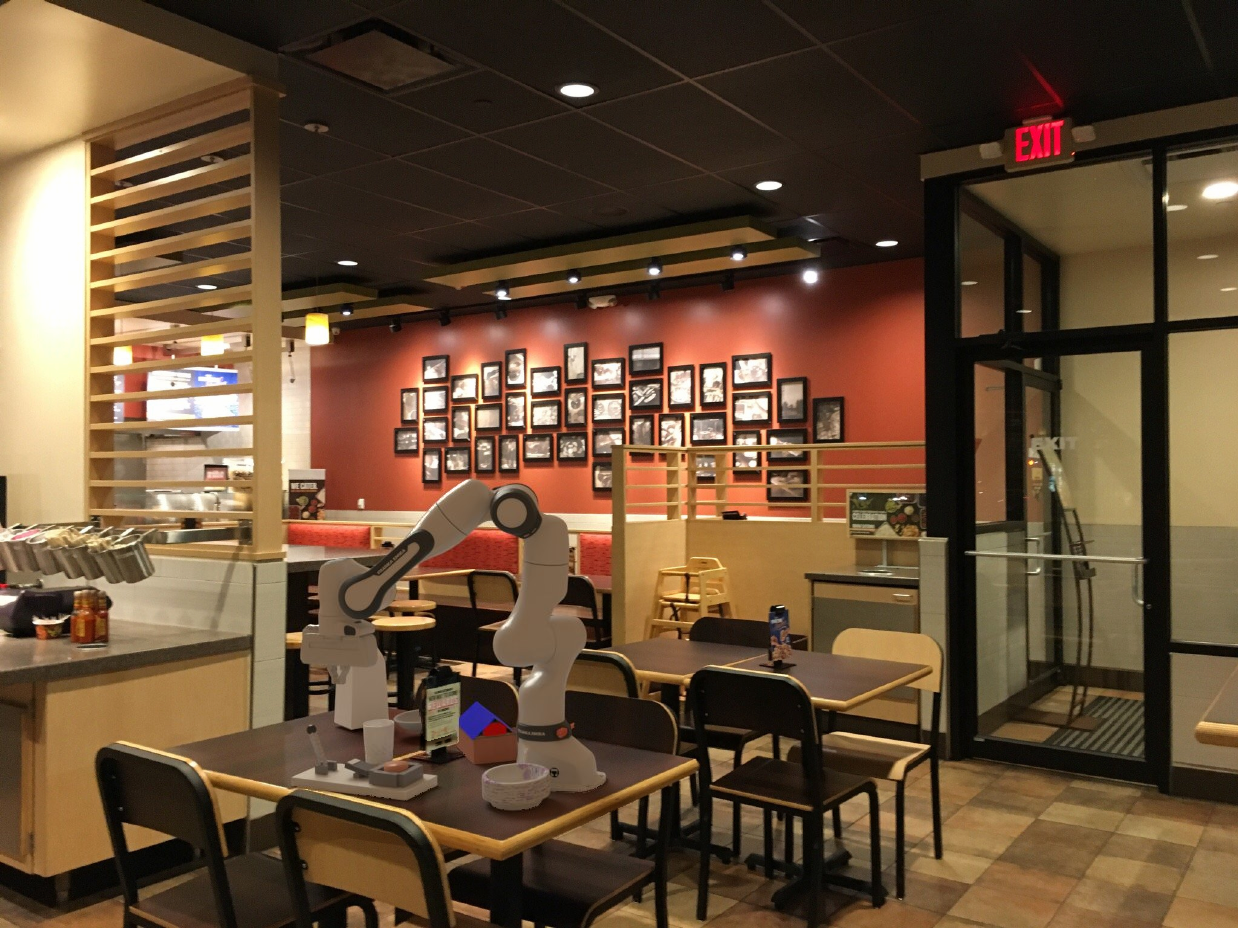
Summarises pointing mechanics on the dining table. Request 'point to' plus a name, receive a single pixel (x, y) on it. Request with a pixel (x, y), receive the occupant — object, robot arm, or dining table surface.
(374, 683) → the milk
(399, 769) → the push button
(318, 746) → the toggle lever
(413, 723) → the dish
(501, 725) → the house
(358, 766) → the rocker switch
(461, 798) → the dining table surface
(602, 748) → the dining table surface
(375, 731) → the white cup
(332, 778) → the console
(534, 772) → the paper bowls
